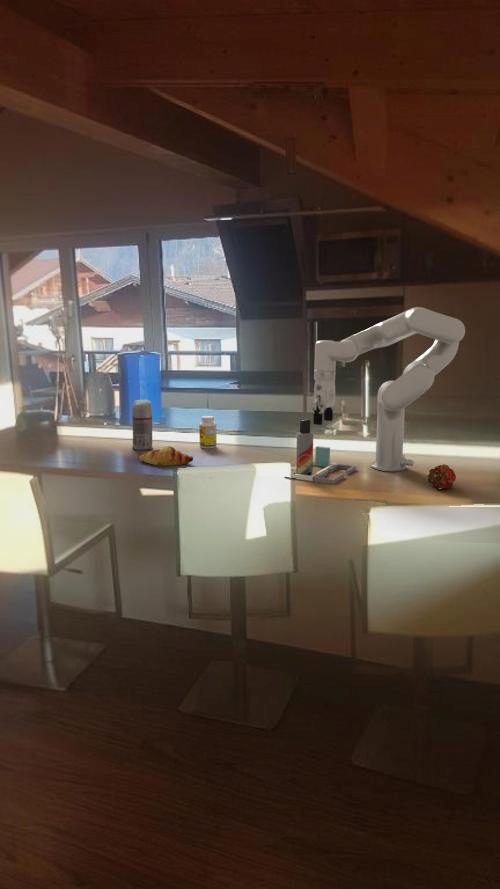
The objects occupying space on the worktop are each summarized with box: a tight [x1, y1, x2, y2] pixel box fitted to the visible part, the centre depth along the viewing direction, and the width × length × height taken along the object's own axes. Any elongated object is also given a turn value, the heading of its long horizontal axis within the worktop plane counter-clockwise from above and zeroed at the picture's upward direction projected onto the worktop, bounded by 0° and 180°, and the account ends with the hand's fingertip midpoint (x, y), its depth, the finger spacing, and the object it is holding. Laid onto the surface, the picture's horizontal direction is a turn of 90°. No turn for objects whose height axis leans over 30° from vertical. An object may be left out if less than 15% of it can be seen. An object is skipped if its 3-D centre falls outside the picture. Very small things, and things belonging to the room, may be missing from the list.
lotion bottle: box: [295, 418, 314, 476], centre depth 231 cm, size 6×6×20 cm
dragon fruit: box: [427, 463, 457, 489], centre depth 218 cm, size 8×8×12 cm
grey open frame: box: [313, 463, 357, 485], centre depth 234 cm, size 7×22×2 cm, turn 152°
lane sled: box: [294, 445, 337, 482], centre depth 237 cm, size 10×22×7 cm, turn 152°
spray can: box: [131, 398, 153, 451], centre depth 274 cm, size 8×8×20 cm
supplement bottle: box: [199, 415, 217, 450], centre depth 277 cm, size 7×7×13 cm
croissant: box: [138, 445, 194, 467], centre depth 251 cm, size 21×10×8 cm
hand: (323, 422), depth 244 cm, fingers open, 9 cm apart
